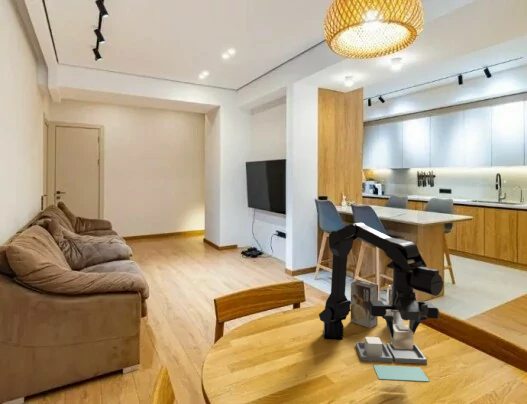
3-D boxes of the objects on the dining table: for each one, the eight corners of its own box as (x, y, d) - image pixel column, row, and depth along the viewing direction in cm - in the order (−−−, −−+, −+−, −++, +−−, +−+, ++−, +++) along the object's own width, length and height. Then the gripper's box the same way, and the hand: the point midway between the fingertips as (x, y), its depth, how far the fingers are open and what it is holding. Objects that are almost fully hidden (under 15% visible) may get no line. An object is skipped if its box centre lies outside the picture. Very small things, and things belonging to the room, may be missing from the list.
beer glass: (406, 329, 131) (407, 291, 130) (387, 327, 132) (388, 290, 131) (402, 322, 137) (403, 285, 136) (384, 320, 139) (385, 284, 138)
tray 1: (361, 361, 108) (361, 356, 107) (355, 346, 117) (355, 341, 117) (392, 363, 107) (392, 357, 107) (384, 348, 116) (384, 343, 116)
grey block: (367, 356, 110) (368, 343, 110) (364, 349, 114) (365, 336, 114) (382, 357, 109) (382, 344, 109) (378, 350, 114) (378, 337, 114)
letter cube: (394, 348, 98) (395, 331, 97) (389, 340, 103) (390, 323, 102) (412, 349, 97) (413, 331, 97) (406, 340, 102) (407, 324, 102)
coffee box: (378, 324, 135) (379, 284, 134) (369, 328, 131) (371, 288, 130) (358, 317, 142) (358, 279, 141) (349, 321, 138) (350, 282, 137)
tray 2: (395, 363, 107) (395, 357, 107) (386, 348, 116) (386, 343, 116) (426, 364, 106) (427, 359, 106) (415, 349, 116) (415, 344, 115)
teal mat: (379, 380, 98) (379, 378, 98) (373, 367, 105) (373, 365, 105) (429, 383, 97) (429, 381, 97) (420, 369, 104) (420, 367, 103)
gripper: (377, 293, 91) (375, 349, 93) (449, 296, 90) (446, 353, 91) (367, 281, 102) (366, 331, 104) (432, 283, 101) (429, 333, 102)
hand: (401, 337), depth 100 cm, fingers closed on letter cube, 5 cm apart
